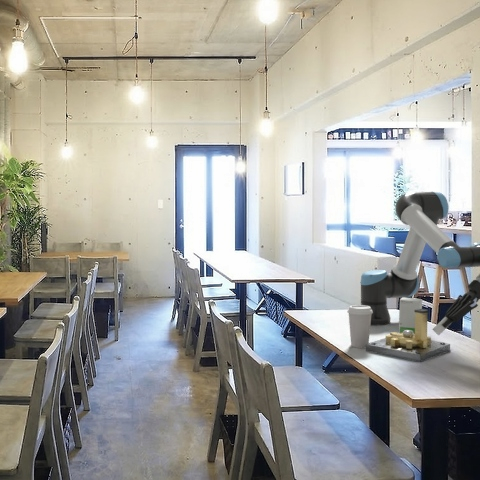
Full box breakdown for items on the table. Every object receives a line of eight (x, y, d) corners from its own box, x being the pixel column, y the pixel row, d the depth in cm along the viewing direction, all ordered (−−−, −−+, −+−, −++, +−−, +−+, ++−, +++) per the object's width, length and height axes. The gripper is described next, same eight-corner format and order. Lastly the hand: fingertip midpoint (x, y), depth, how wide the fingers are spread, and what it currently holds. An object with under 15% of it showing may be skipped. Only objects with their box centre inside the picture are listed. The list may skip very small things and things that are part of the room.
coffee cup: (373, 343, 226) (374, 305, 225) (371, 349, 217) (371, 309, 216) (349, 341, 229) (349, 304, 228) (345, 347, 220) (345, 308, 219)
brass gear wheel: (376, 341, 217) (376, 306, 216) (406, 336, 226) (406, 302, 225) (409, 350, 204) (410, 313, 203) (440, 344, 212) (440, 308, 211)
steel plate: (397, 340, 230) (397, 322, 230) (450, 350, 215) (450, 330, 214) (365, 350, 215) (365, 331, 214) (420, 362, 199) (420, 341, 199)
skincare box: (398, 337, 236) (398, 299, 235) (400, 334, 242) (401, 296, 241) (419, 339, 232) (420, 300, 231) (421, 335, 238) (422, 298, 237)
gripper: (498, 296, 201) (449, 344, 203) (482, 290, 214) (436, 335, 216) (483, 281, 201) (434, 329, 202) (468, 276, 214) (422, 321, 215)
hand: (435, 332), depth 209 cm, fingers closed
